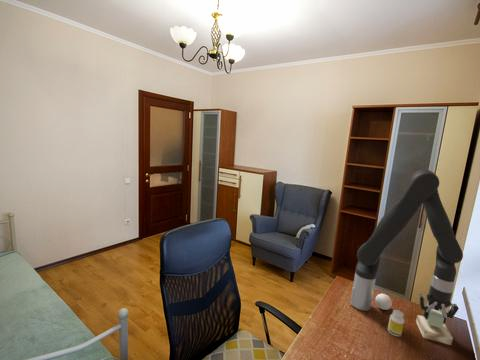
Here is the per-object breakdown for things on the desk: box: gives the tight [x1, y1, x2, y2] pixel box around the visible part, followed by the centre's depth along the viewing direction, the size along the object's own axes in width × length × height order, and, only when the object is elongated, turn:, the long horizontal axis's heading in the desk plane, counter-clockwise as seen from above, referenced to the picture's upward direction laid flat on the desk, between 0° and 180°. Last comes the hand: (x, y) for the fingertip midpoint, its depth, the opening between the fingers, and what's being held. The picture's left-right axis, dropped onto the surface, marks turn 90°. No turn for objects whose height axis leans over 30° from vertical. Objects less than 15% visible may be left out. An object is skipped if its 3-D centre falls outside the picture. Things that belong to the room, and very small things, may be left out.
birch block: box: [415, 314, 454, 346], centre depth 110 cm, size 10×10×4 cm
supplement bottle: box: [387, 309, 405, 337], centre depth 108 cm, size 5×5×10 cm
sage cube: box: [426, 308, 444, 329], centre depth 109 cm, size 5×5×5 cm
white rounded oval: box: [374, 293, 393, 311], centre depth 123 cm, size 10×7×7 cm
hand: (433, 320), depth 110 cm, fingers closed on sage cube, 5 cm apart
